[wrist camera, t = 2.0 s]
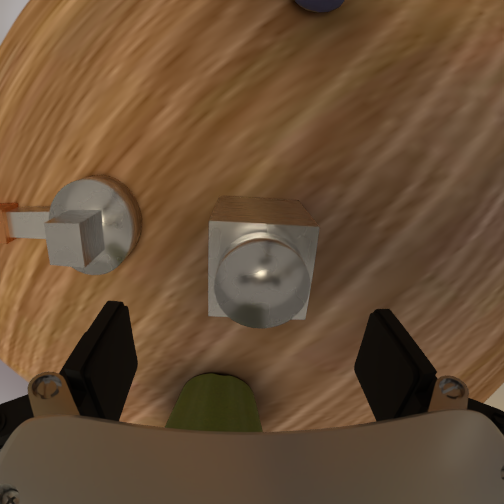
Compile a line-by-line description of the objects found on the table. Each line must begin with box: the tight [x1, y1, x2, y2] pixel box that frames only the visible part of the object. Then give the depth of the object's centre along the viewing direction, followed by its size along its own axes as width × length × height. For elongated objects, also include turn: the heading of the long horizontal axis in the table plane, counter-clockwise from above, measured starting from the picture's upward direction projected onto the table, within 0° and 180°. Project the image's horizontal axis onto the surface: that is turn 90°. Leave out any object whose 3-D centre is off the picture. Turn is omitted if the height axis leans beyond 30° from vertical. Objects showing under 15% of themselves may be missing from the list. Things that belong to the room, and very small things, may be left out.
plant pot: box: [165, 373, 263, 432], centre depth 23 cm, size 12×12×11 cm
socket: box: [208, 196, 319, 328], centre depth 18 cm, size 6×6×8 cm
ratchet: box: [0, 175, 142, 275], centre depth 18 cm, size 20×7×6 cm, turn 86°
